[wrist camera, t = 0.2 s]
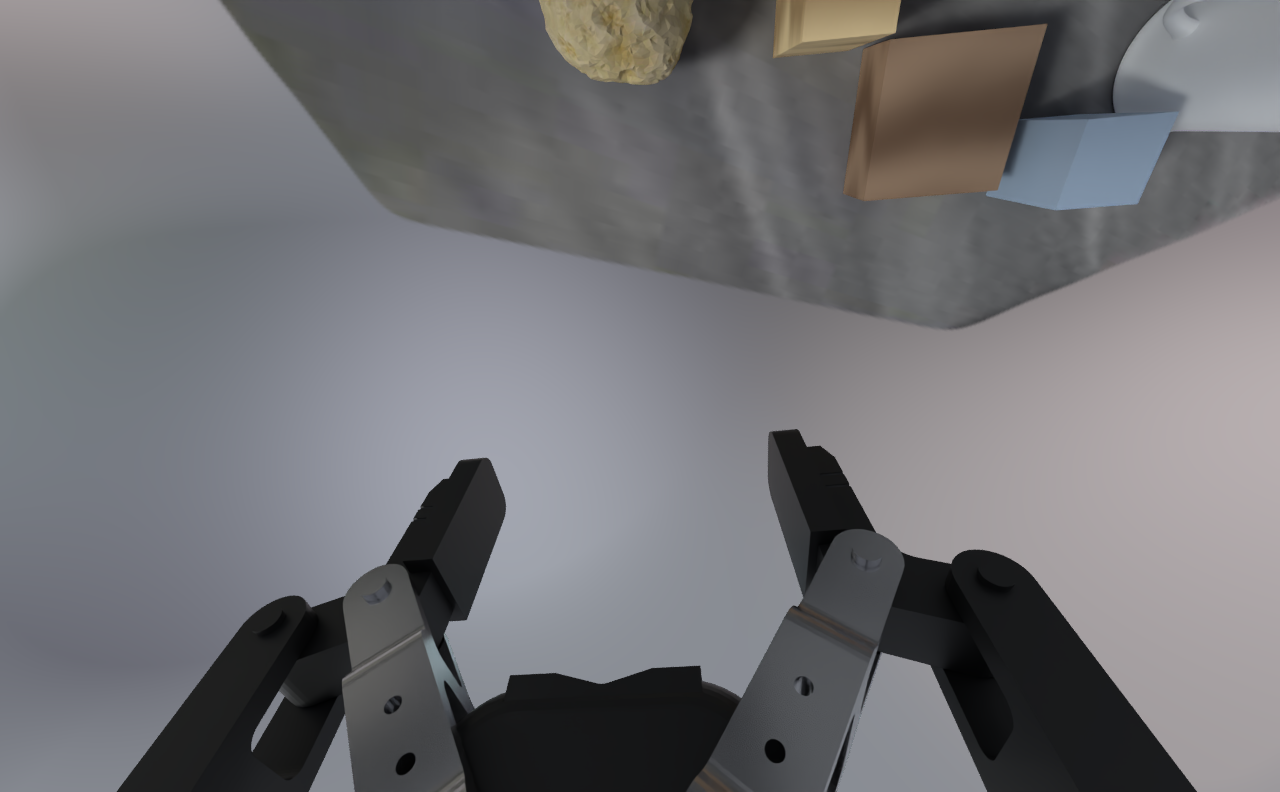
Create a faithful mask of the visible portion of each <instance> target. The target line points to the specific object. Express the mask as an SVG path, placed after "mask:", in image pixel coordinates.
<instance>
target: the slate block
mask: <svg viewBox="0 0 1280 792" xmlns="http://www.w3.org/2000/svg"><path fill="white" fill-rule="evenodd" d="M1178 113H1179V111H1177V112H1139V113H1101V114H1076V115H1064V116H1053V117H1042V118H1030V119H1019V121H1018V124H1017V128H1016V131H1015V134H1014V138H1013V141H1012V144H1011V148H1010V151H1009V154H1008V158H1007V161H1006V164H1005V168H1004V171H1003V174H1002V178H1001V181H1000V184H999V188H998V190H996V191H987V194H986V196H990V197H994V198H999V199H1004V200H1009V201H1013V202H1018V203H1023V204H1028V205H1032V206H1037V207H1042V208H1047V209H1051V210H1065V209H1078V208H1091V207H1104V206H1117V205H1130V204H1138V202H1139V200H1140V197H1141V195H1142V193H1143V191H1144V189H1145V186H1146V184H1147V182H1148V180H1149V177H1150V175H1151V173H1152V171H1153V169H1154V166H1155V164H1156V162H1157V160H1158V158H1159V155H1160V153H1161V151H1162V149H1163V146H1164V144H1165V142H1166V140H1167V138H1168V135H1169V133H1170V131H1171V129H1172V127H1173V124H1174V122H1175V120H1176V118H1177V115H1178Z"/></svg>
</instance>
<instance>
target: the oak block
mask: <svg viewBox="0 0 1280 792" xmlns="http://www.w3.org/2000/svg"><path fill="white" fill-rule="evenodd" d="M900 3H901V0H776V17H775V34H774V51H773V58H778V57H789V56H799V55H809V54H819V53H829V52H839V51H848V50H851V49H854V48H856V47H859V46H862V45H864V44H867V43H870V42H872V41H875V40H878V39H880V38H883V37H886V36H888V35H891V34H894V33H896V27H897V21H898V15H899V9H900Z"/></svg>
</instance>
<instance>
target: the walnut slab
mask: <svg viewBox="0 0 1280 792" xmlns="http://www.w3.org/2000/svg"><path fill="white" fill-rule="evenodd" d="M1046 28H1047V24H1040V25H1030V26H1020V27H1010V28H1000V29H990V30H980V31H970V32H960V33H949V34H939V35H929V36H919V37H909V38H899V39H890V40H887V41H884V42H882V43H879V44H876V45H873V46H870V47H868V48H865V49H863V55H862V62H861V69H860V76H859V83H858V91H857V98H856V105H855V112H854V119H853V126H852V134H851V141H850V148H849V155H848V162H847V169H846V177H845V184H844V191H843V194H846V195H849V196H851V197H854V198H857V199H860V200H863V201H870V200H883V199H895V198H908V197H920V196H933V195H945V194H958V193H970V192H983V191H996V190H998V188H999V184H1000V181H1001V178H1002V174H1003V171H1004V168H1005V164H1006V161H1007V158H1008V154H1009V151H1010V148H1011V144H1012V141H1013V138H1014V134H1015V131H1016V128H1017V124H1018V121H1019V118H1020V114H1021V111H1022V108H1023V104H1024V101H1025V98H1026V94H1027V91H1028V88H1029V84H1030V81H1031V78H1032V74H1033V71H1034V68H1035V64H1036V61H1037V58H1038V54H1039V51H1040V48H1041V44H1042V41H1043V38H1044V34H1045V31H1046Z"/></svg>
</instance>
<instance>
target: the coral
mask: <svg viewBox="0 0 1280 792" xmlns="http://www.w3.org/2000/svg"><path fill="white" fill-rule="evenodd" d="M539 1H540V4H541V9H542V12H543V14H544V17H545V25H546V31H547V32H548V34H549V36H550V38H551V40H552V41H553V43H554V45H555V47H556V49H557V50H558V51H559V52H560V53H561V54H562V56H563V57H564V59H565V60H566V61H567V62H568V63H570V64H571V65H572V66H574V67H575V68H577V69H578V70H580V72H582V73H586V74H587V75H588V77H590V78H591V79H594V80H598V81H605V82H611V81H614V82H619V83H624V82H626V83H630V84H635V85H650V84H654V83H658V82H659V81H660V80H664V79H665V78H666V77H668V76H669V75H670V74H671V72H672V70H673V69H674V68H675V66H676V64H677V62H678V60H679V59H680V54H681V51H682V47H683V44H684V42H685V40H686V37H687V35H688V32H689V30H690V28H691V23H692V18H693V15H692V13H691V5H692V2H693V0H539Z"/></svg>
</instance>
